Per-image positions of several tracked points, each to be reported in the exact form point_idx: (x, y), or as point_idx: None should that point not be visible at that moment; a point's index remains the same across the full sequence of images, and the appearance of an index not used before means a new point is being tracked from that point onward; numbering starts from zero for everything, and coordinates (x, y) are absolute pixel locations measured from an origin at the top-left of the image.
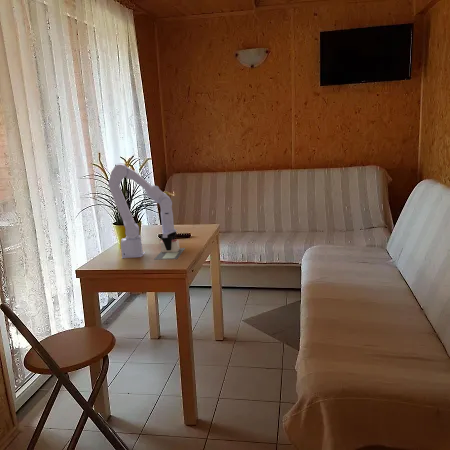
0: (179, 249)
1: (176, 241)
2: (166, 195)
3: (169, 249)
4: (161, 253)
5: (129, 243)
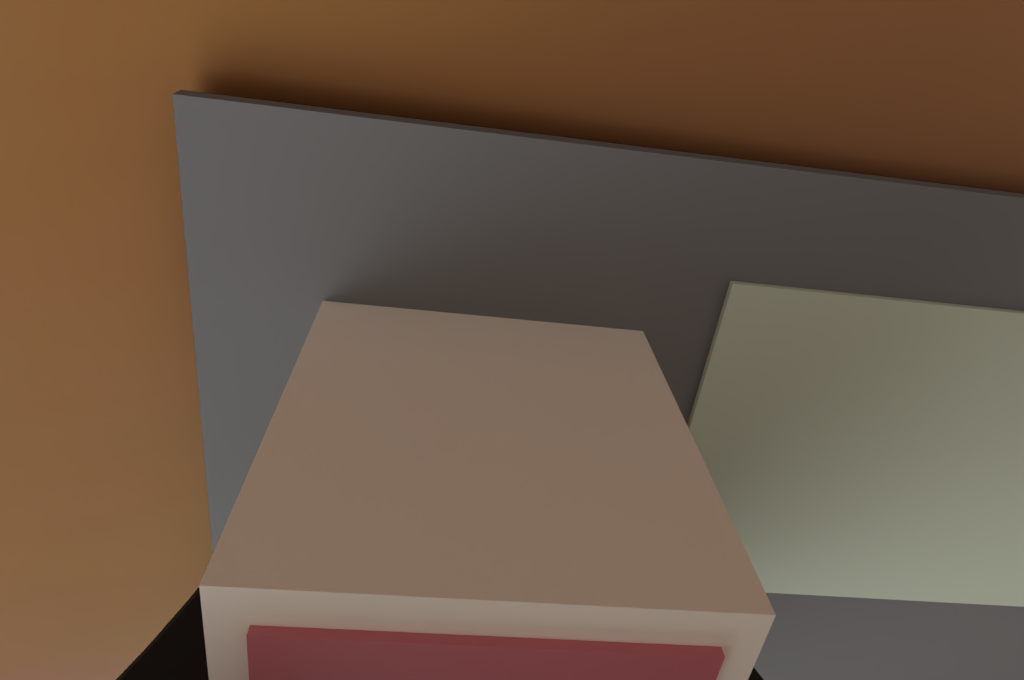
0: (349, 298)
1: (715, 622)
2: None
3: None
4: None
5: None
